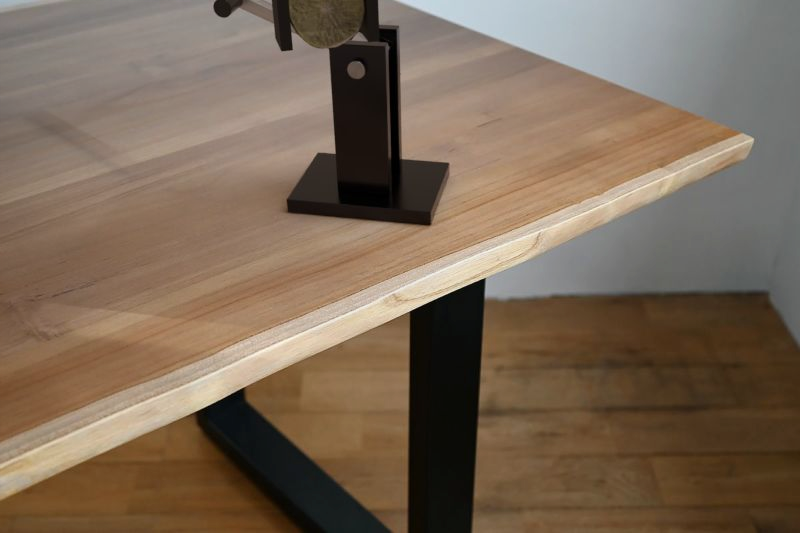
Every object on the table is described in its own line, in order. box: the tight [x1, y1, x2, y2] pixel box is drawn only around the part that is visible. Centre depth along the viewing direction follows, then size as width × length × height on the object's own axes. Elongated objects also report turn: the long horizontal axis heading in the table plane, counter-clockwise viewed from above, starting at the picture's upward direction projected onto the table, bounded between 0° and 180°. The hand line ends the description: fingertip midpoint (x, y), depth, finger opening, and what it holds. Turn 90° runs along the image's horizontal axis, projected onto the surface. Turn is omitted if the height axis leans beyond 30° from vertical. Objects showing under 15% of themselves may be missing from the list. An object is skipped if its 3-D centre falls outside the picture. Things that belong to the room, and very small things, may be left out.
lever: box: [212, 0, 390, 51], centre depth 71 cm, size 13×6×2 cm, turn 78°
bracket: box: [286, 24, 450, 226], centre depth 74 cm, size 12×9×14 cm
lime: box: [289, 0, 365, 50], centre depth 59 cm, size 4×5×5 cm
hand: (326, 39), depth 60 cm, fingers closed on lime, 5 cm apart
